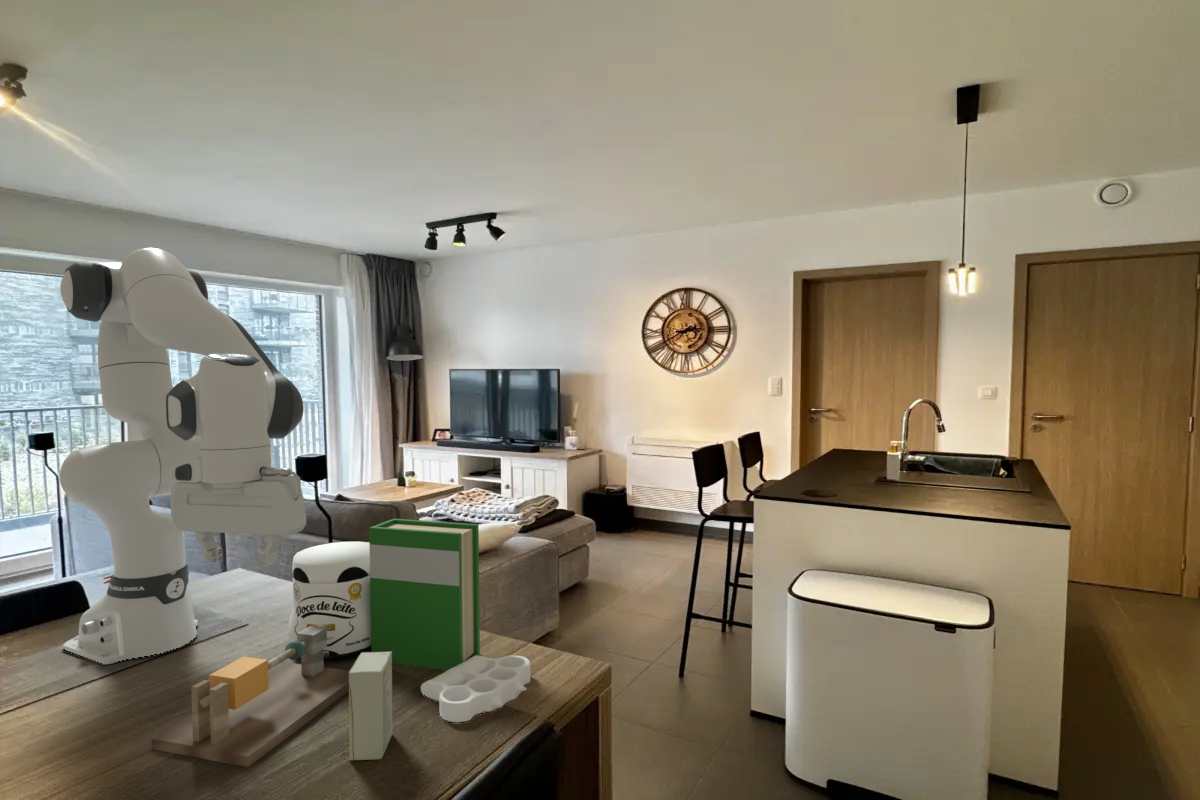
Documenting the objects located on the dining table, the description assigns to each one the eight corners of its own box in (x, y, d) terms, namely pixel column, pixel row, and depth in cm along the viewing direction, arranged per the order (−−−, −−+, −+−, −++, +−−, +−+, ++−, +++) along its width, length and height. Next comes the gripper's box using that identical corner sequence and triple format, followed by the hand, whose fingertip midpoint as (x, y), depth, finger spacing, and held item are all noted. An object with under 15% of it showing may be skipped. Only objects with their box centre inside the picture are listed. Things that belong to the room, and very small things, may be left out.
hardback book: (479, 654, 116) (478, 524, 115) (460, 672, 109) (458, 534, 108) (395, 643, 121) (393, 518, 120) (371, 660, 114) (369, 527, 113)
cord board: (151, 749, 87) (149, 684, 87) (281, 670, 110) (280, 619, 110) (248, 767, 83) (246, 699, 82) (361, 681, 106) (361, 628, 106)
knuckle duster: (484, 663, 114) (550, 684, 106) (404, 707, 99) (474, 736, 91) (484, 644, 114) (550, 664, 106) (404, 686, 98) (474, 712, 91)
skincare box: (362, 735, 90) (360, 651, 90) (394, 733, 91) (392, 650, 90) (348, 762, 84) (346, 672, 83) (382, 760, 84) (381, 670, 84)
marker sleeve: (209, 705, 89) (209, 674, 89) (244, 685, 95) (243, 656, 95) (235, 709, 88) (234, 678, 88) (268, 689, 94) (267, 659, 94)
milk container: (300, 677, 108) (297, 572, 107) (281, 642, 122) (278, 549, 121) (401, 650, 118) (399, 554, 117) (372, 621, 132) (371, 535, 131)
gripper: (314, 464, 91) (317, 560, 92) (198, 463, 96) (201, 553, 97) (282, 471, 85) (286, 573, 86) (160, 469, 90) (164, 565, 90)
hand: (240, 563), depth 91 cm, fingers open, 8 cm apart
